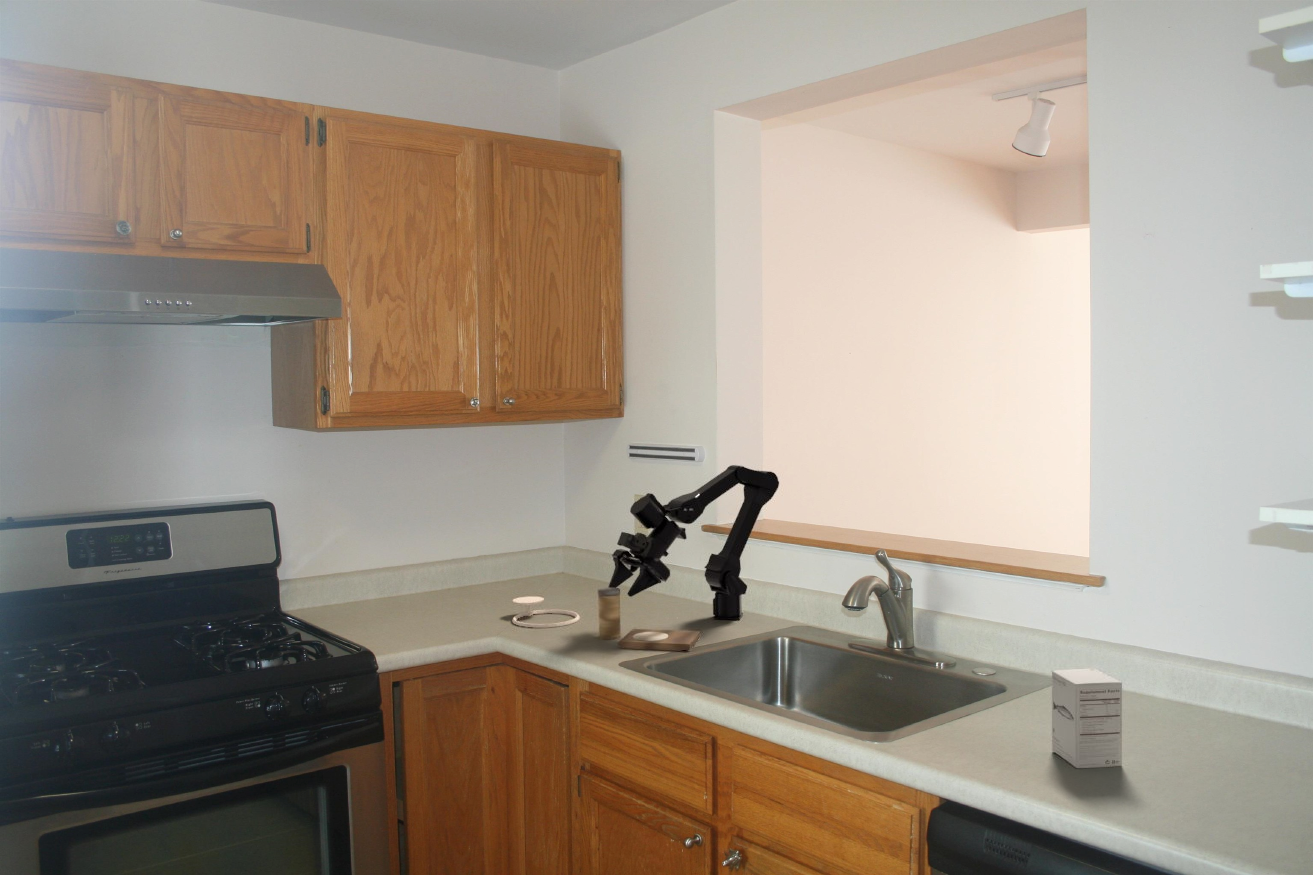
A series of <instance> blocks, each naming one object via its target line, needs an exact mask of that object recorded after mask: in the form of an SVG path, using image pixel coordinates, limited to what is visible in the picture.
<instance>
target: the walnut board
mask: <svg viewBox="0 0 1313 875" xmlns="http://www.w3.org/2000/svg"><path fill="white" fill-rule="evenodd" d="M699 638H700V639H701V631H700V630H676V629H675V630H674V629H673V630H672V629H671V630H669V629H646V628H644V629H643V628H631V630H630V631H629V632H628V633H626V634H625V635H624V636H623V637H622V638H621V639H619V641H618V649H629V650H630V649H631V650H635V649H636V650H656V651H657V650H659V651H661V650H662V651H677V650H690V649H691V648H692V647H693V648H694V646H695V645H696V644H697V643H698V641H699V640H700V639H699ZM698 639H699V640H698ZM696 642H697V643H696ZM693 648H692V649H693ZM692 649H691V650H692ZM691 650H690V651H691Z"/></svg>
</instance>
